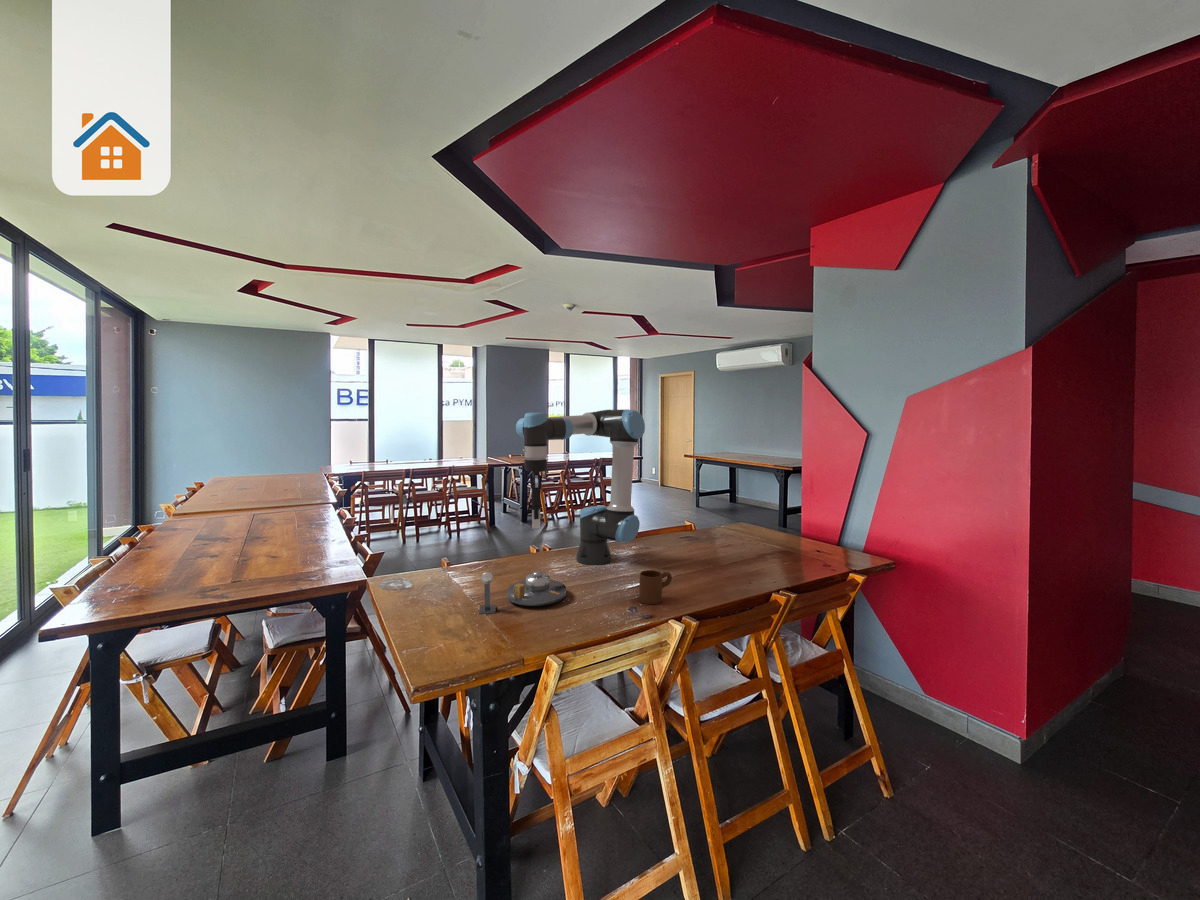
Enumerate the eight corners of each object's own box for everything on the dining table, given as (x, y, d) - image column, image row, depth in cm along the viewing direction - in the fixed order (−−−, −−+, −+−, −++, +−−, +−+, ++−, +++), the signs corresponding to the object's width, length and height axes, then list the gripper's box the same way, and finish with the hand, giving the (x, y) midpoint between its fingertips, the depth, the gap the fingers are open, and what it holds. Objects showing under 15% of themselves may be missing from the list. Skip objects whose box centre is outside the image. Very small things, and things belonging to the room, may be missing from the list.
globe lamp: (480, 607, 159) (479, 569, 158) (495, 606, 160) (495, 568, 159) (479, 614, 155) (478, 574, 154) (495, 613, 155) (494, 573, 154)
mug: (665, 593, 173) (665, 567, 172) (677, 600, 166) (677, 573, 165) (635, 598, 168) (635, 571, 167) (646, 606, 161) (646, 578, 160)
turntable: (494, 598, 164) (493, 580, 164) (532, 580, 182) (532, 564, 181) (541, 610, 154) (540, 592, 153) (577, 590, 171) (577, 574, 171)
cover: (521, 589, 167) (520, 573, 167) (536, 582, 174) (536, 567, 174) (538, 593, 163) (538, 577, 163) (554, 586, 170) (554, 571, 169)
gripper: (524, 457, 170) (524, 524, 172) (524, 460, 157) (525, 533, 159) (545, 456, 171) (546, 523, 173) (548, 460, 158) (548, 532, 160)
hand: (536, 527), depth 166 cm, fingers closed
